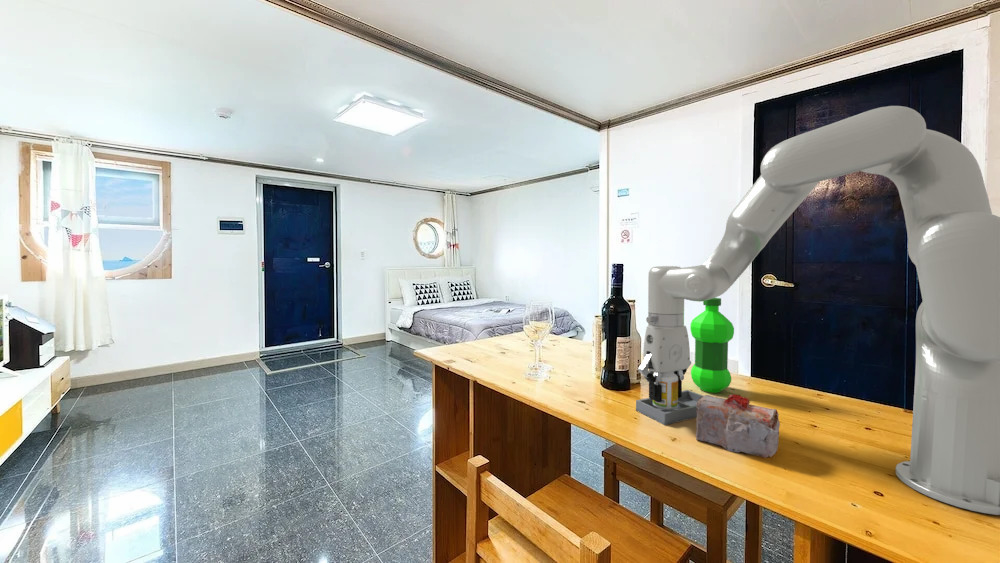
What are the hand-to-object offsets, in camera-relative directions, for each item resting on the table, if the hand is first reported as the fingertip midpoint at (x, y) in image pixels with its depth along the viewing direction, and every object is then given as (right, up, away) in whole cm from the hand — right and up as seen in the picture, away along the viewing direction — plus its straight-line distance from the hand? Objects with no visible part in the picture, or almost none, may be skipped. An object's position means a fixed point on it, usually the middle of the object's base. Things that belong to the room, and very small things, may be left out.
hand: (665, 397), depth 89 cm
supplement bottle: (0, -2, 0) cm, 2 cm away
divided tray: (+4, -4, +2) cm, 6 cm away
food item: (+7, -5, -14) cm, 17 cm away
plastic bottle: (+19, -3, +16) cm, 25 cm away
